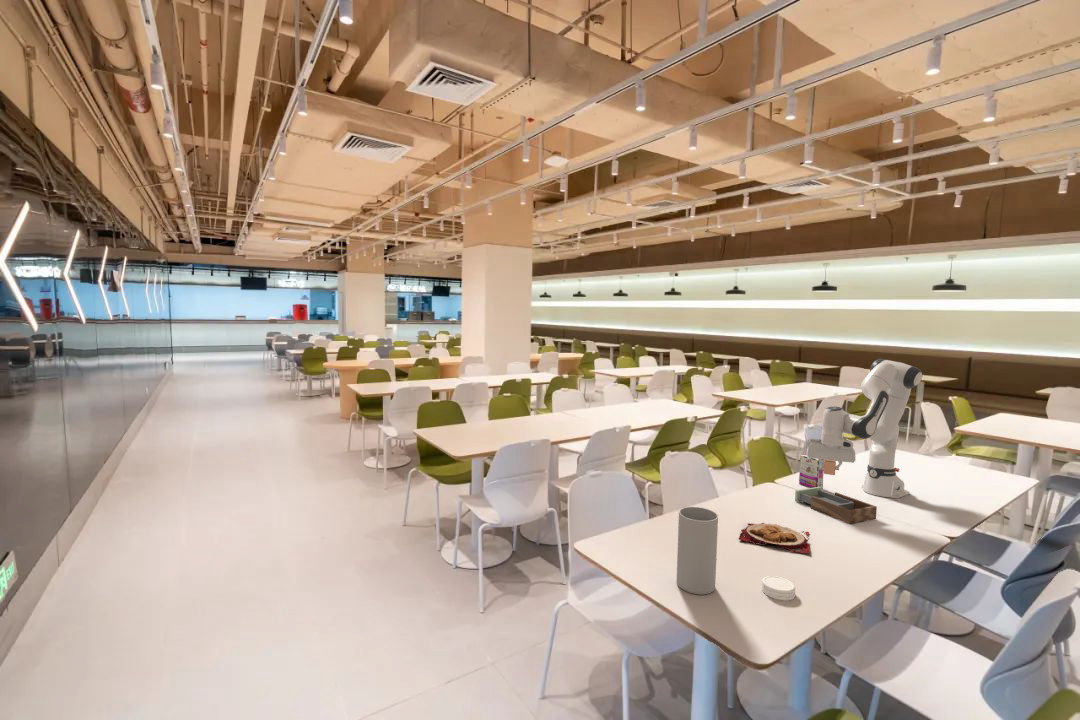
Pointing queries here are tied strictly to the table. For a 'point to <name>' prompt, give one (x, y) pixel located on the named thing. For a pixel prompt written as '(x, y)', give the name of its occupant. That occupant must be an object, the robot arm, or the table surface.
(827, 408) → the robot arm
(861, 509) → the organiser housing
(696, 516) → the cylinder vase
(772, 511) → the table surface
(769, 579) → the coaster
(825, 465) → the terracotta block
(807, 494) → the grey drawer
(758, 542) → the plate with food
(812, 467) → the candy bar box
